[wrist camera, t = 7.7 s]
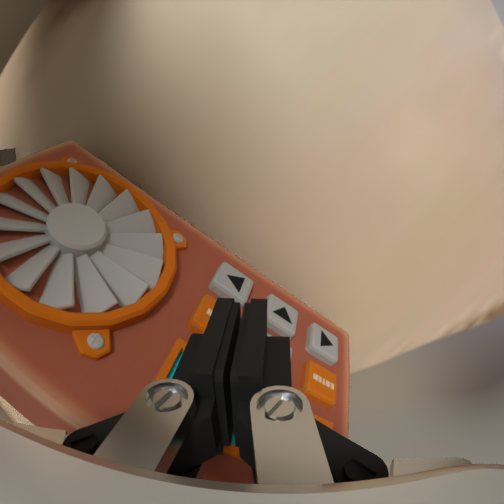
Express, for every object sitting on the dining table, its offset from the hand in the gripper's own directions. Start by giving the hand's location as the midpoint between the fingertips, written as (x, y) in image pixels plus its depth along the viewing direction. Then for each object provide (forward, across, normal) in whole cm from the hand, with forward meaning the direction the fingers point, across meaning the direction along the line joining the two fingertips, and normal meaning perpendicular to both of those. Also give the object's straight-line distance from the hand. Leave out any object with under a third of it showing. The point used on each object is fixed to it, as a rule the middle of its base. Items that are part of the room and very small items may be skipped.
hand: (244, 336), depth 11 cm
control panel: (+10, +4, 0) cm, 11 cm away
